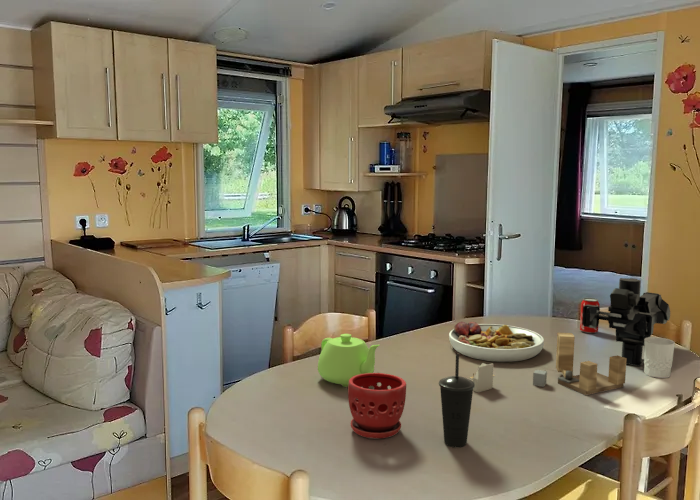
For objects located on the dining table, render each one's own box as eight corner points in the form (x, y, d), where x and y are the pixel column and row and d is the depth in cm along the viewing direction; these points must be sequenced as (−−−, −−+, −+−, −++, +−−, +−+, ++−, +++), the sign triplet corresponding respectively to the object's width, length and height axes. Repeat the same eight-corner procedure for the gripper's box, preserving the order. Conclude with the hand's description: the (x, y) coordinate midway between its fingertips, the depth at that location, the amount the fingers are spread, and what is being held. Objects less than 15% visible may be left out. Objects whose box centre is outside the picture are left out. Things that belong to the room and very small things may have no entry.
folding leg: (577, 380, 171) (578, 342, 170) (561, 379, 172) (563, 342, 170) (570, 368, 181) (571, 333, 179) (555, 367, 181) (557, 332, 180)
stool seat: (594, 375, 180) (596, 348, 178) (624, 387, 170) (626, 358, 169) (557, 383, 174) (559, 354, 172) (587, 395, 164) (588, 365, 163)
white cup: (675, 379, 176) (678, 345, 175) (645, 378, 178) (648, 343, 176) (667, 370, 184) (670, 337, 182) (638, 369, 185) (641, 336, 184)
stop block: (535, 381, 175) (535, 369, 174) (546, 383, 173) (546, 371, 173) (532, 384, 172) (533, 372, 172) (543, 386, 171) (544, 374, 170)
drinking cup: (434, 435, 141) (435, 349, 138) (467, 434, 141) (470, 348, 138) (442, 451, 133) (444, 360, 130) (477, 449, 134) (480, 359, 131)
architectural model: (468, 390, 170) (469, 364, 169) (486, 385, 173) (487, 359, 172) (477, 394, 167) (478, 367, 166) (495, 388, 171) (496, 362, 170)
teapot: (396, 383, 174) (396, 337, 172) (360, 398, 163) (360, 349, 161) (339, 365, 189) (339, 323, 187) (302, 378, 178) (302, 333, 176)
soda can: (596, 335, 221) (597, 302, 220) (577, 332, 225) (579, 299, 223) (599, 331, 226) (601, 298, 225) (581, 328, 230) (583, 296, 228)
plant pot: (402, 445, 136) (403, 392, 134) (343, 440, 138) (343, 388, 136) (408, 421, 149) (408, 372, 147) (353, 417, 151) (353, 369, 149)
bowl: (554, 346, 209) (555, 323, 208) (527, 371, 184) (528, 345, 183) (469, 333, 225) (469, 311, 224) (433, 354, 200) (434, 331, 199)
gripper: (593, 284, 187) (574, 292, 175) (661, 292, 175) (645, 302, 163) (591, 320, 188) (572, 331, 177) (658, 331, 177) (643, 343, 165)
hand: (607, 326), depth 170 cm, fingers open, 9 cm apart
